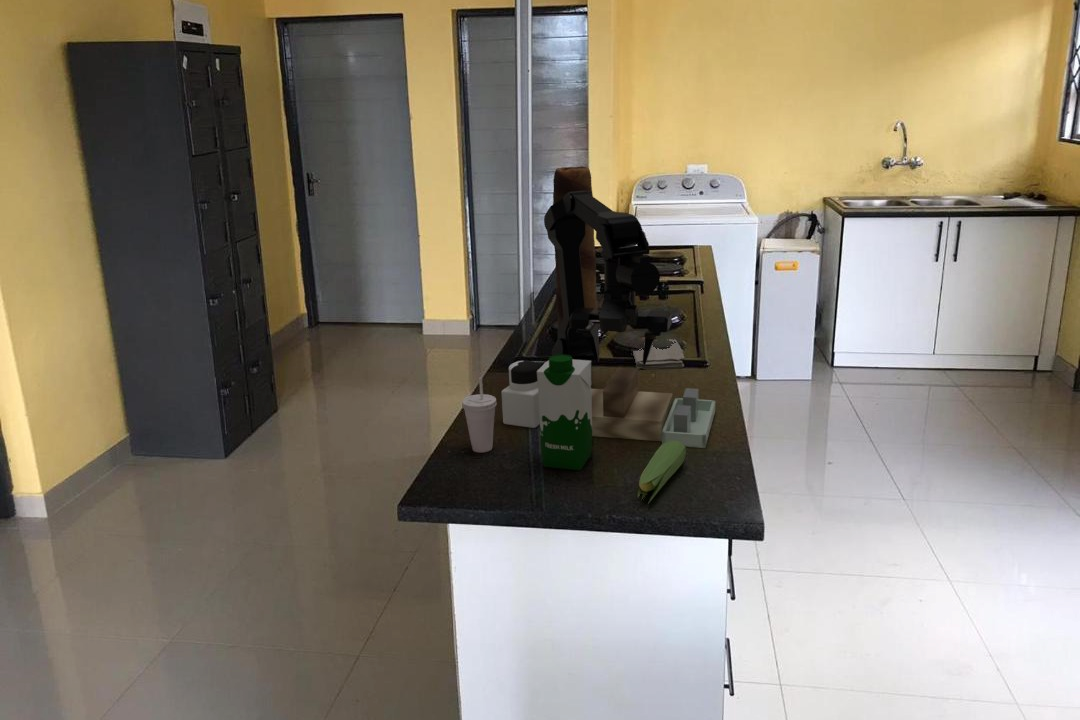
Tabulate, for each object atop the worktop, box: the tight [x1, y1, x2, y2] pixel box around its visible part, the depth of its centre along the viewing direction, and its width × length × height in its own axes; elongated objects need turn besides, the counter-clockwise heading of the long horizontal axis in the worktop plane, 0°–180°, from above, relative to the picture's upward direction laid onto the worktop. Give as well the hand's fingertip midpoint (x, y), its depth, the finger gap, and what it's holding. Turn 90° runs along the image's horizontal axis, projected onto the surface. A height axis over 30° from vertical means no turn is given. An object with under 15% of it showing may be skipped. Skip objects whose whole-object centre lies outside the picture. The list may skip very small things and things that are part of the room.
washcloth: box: [633, 338, 686, 371], centre depth 208 cm, size 12×18×3 cm, turn 1°
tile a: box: [682, 387, 699, 422], centre depth 170 cm, size 5×5×2 cm
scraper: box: [603, 367, 639, 418], centre depth 169 cm, size 4×14×5 cm, turn 164°
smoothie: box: [461, 377, 497, 453], centre depth 159 cm, size 6×6×14 cm
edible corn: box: [637, 441, 687, 504], centre depth 145 cm, size 5×20×5 cm
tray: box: [661, 397, 716, 449], centre depth 166 cm, size 8×18×2 cm, turn 164°
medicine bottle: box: [500, 360, 540, 429], centre depth 172 cm, size 7×7×12 cm
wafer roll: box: [552, 166, 600, 338], centre depth 210 cm, size 10×11×45 cm
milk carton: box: [537, 354, 593, 471], centre depth 152 cm, size 9×9×20 cm
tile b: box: [674, 405, 691, 433], centre depth 162 cm, size 5×5×2 cm
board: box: [591, 388, 674, 442], centre depth 170 cm, size 17×15×4 cm
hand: (620, 362), depth 167 cm, fingers open, 9 cm apart
